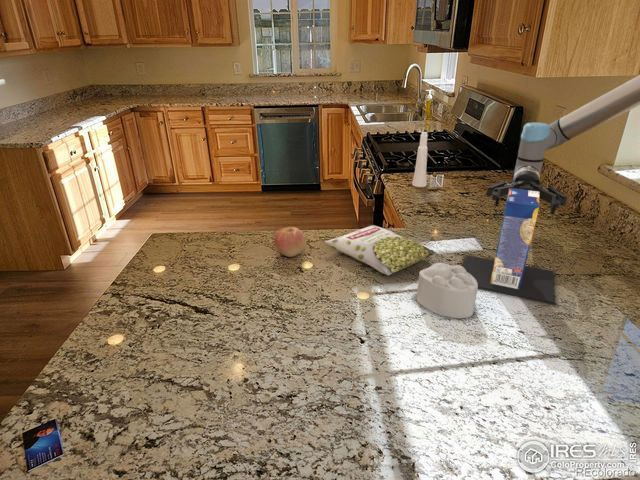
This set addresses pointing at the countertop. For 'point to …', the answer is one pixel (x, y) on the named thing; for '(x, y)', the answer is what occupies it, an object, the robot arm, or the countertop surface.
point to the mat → (532, 287)
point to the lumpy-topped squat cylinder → (447, 290)
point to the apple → (289, 241)
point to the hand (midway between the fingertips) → (524, 205)
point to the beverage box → (515, 237)
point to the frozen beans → (381, 249)
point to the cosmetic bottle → (421, 163)
